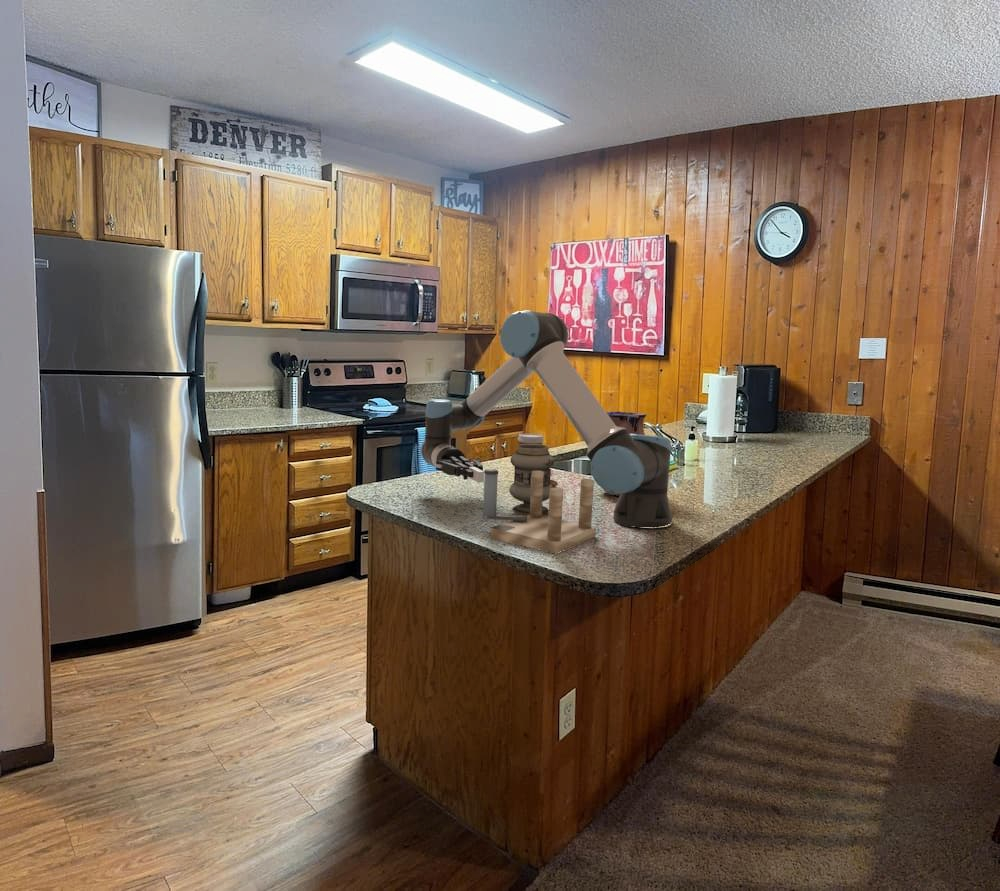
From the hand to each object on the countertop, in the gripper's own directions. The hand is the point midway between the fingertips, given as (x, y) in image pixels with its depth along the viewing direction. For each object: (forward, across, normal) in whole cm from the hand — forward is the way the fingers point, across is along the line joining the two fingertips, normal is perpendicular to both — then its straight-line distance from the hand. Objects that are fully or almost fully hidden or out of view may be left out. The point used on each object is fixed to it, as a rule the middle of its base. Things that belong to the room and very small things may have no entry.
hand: (481, 477), depth 177 cm
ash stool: (+16, -10, -12) cm, 22 cm away
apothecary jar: (-8, -19, -12) cm, 24 cm away
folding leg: (+7, -4, -9) cm, 12 cm away
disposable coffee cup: (-64, -46, -12) cm, 80 cm away
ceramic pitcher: (-21, -56, -12) cm, 61 cm away
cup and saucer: (-35, -35, -12) cm, 51 cm away
